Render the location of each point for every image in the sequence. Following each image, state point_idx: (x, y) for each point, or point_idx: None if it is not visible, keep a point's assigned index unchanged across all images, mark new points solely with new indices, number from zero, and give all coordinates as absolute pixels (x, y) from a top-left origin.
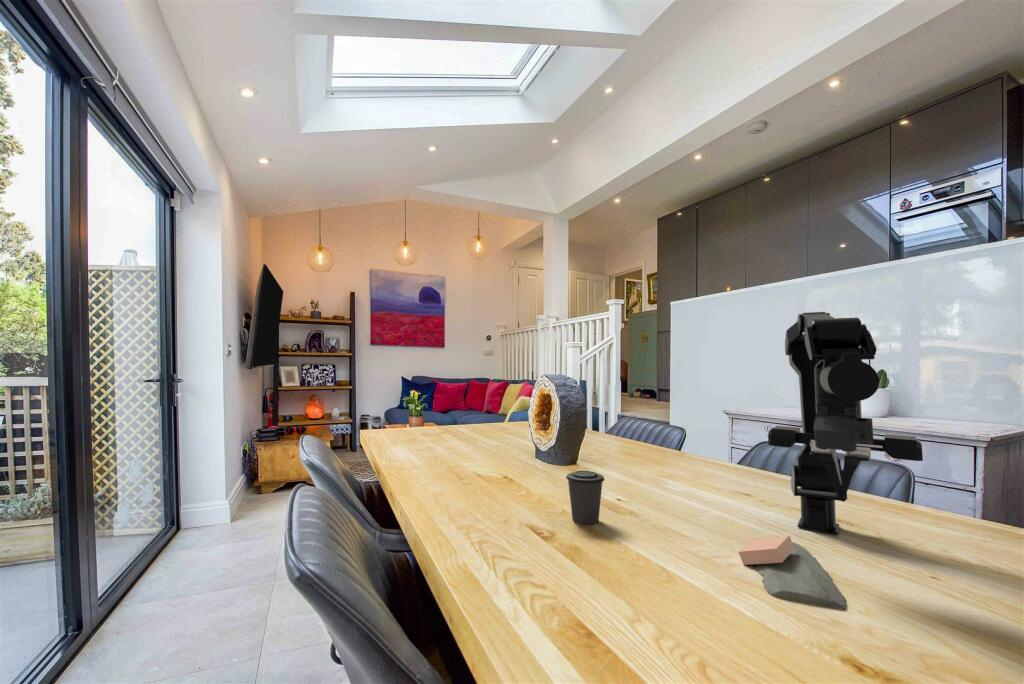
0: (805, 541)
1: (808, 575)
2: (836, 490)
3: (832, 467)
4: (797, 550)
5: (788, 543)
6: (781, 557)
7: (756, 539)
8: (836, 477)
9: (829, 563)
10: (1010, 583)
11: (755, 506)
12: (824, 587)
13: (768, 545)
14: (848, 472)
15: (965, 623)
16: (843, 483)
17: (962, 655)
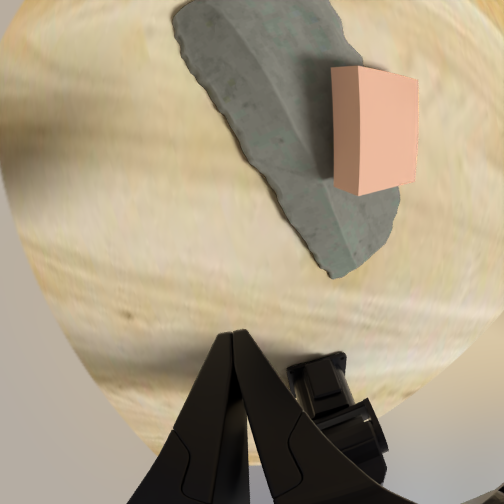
0: (326, 309)
1: (264, 57)
2: (255, 349)
3: (295, 477)
4: (328, 211)
5: (348, 163)
6: (338, 73)
7: (409, 176)
8: (259, 415)
9: (265, 236)
10: (82, 358)
11: (401, 373)
12: (218, 29)
13: (381, 106)
14: (183, 467)
15: (37, 163)
16: (219, 393)
17: (24, 45)
